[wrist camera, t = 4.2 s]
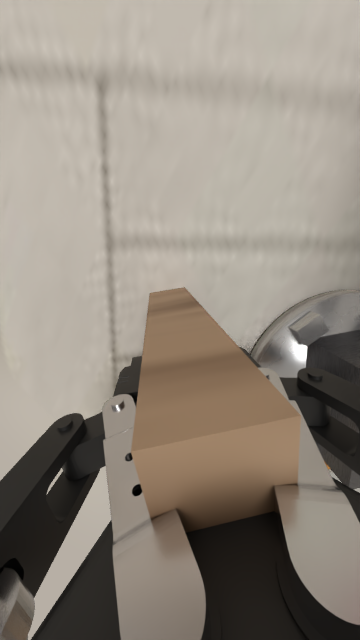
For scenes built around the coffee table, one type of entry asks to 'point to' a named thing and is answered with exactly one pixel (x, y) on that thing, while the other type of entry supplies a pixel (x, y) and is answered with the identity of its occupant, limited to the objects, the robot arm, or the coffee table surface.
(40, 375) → the coffee table surface
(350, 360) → the grey disc
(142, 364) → the brown wooden block
